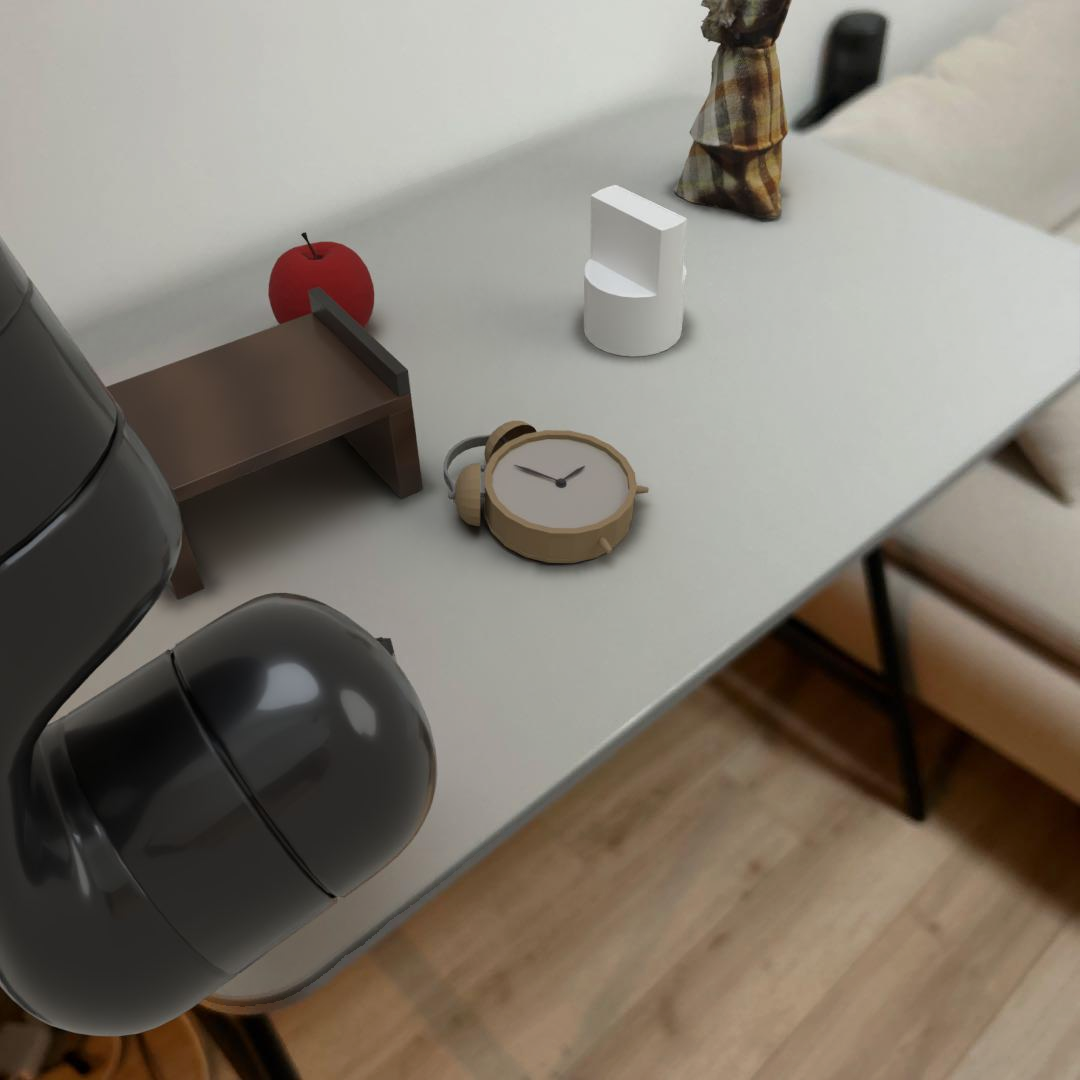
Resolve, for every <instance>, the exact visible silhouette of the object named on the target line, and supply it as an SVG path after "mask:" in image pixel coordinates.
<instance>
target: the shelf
mask: <svg viewBox="0 0 1080 1080" xmlns="http://www.w3.org/2000/svg"><path fill="white" fill-rule="evenodd" d="M308 294H309V299H310V304H311V309H312V313H310V314H308V315H305V316H302V317H299V318H297V319H294V320H291V321H288V322H285V323H283V324H277V325H274V326H272V327H268V328H266V329H263V330H261V331H257V332H255V333H252V334H249V335H247V336H244V337H241V338H238V339H235V340H233V341H230V342H227V343H224V344H222V345H219V346H215V347H213V348H210V349H208V350H205V351H202V352H199V353H197V354H194V355H191V356H188V357H185V358H182V359H180V360H176V361H174V362H171V363H169V364H166V365H163V366H160V367H157V368H154V369H151V370H149V371H146V372H143V373H140V374H138V375H135V376H132V377H130V378H127V379H124V380H121V381H118V382H115V383H112V384H110V385H107V386H106V388H107V389H108V391H109V392H110V394H111V395H112V396H113V398H114V400H115V401H116V402H117V404H118V405H119V406H120V408H121V409H122V410H123V412H124V413H125V415H126V416H127V418H128V419H129V421H130V422H131V424H132V425H133V426H134V428H135V429H136V431H137V432H138V434H139V435H140V437H141V438H142V440H143V441H144V443H145V444H146V445H147V447H148V448H149V450H150V451H151V453H152V454H153V456H154V457H155V459H156V460H157V462H158V463H159V465H160V466H161V468H162V470H163V472H164V474H165V476H166V478H167V480H168V482H169V483H170V485H171V487H172V489H173V491H174V494H175V496H176V498H177V501H178V504H179V503H181V502H183V501H186V500H188V499H190V498H193V497H196V496H198V495H200V494H203V493H205V492H207V491H210V490H213V489H215V488H217V487H219V486H222V485H224V484H228V483H229V482H232V481H234V480H236V479H239V478H242V477H244V476H246V475H248V474H251V473H254V472H256V471H258V470H260V469H262V468H263V469H264V468H265V467H268V466H271V465H273V464H276V463H277V462H281V461H283V460H285V459H287V458H290V457H292V456H295V455H297V454H299V453H302V452H304V451H307V450H309V449H312V448H314V447H317V446H318V445H319V446H320V445H321V444H323V443H326V442H329V441H332V440H334V439H336V438H339V437H341V436H342V437H343V438H344V439H345V440H346V441H347V442H348V444H350V445H351V446H352V448H353V449H355V451H356V452H357V453H358V454H359V455H360V456H361V457H362V459H364V461H365V462H367V464H368V465H369V466H370V467H371V468H372V469H373V470H374V471H375V472H376V474H377V475H378V476H379V477H380V478H381V479H382V480H383V481H384V482H385V484H387V485H388V487H389V488H390V489H391V490H392V491H393V492H394V493H395V494H396V495H397V497H399V498H400V499H402V500H403V499H404V498H407V497H409V496H411V495H413V494H415V493H417V492H419V491H422V490H423V489H424V485H423V478H422V470H421V462H420V453H419V446H418V438H417V430H416V423H415V416H414V406H413V400H412V393H411V392H412V391H411V383H410V376H409V369H408V368H407V367H406V366H404V365H403V363H401V362H400V361H399V359H397V358H396V357H395V356H394V355H393V354H392V353H390V351H388V349H386V348H385V346H383V345H382V344H381V343H380V342H379V341H378V340H377V339H375V338H374V336H373V335H371V334H370V333H369V332H368V331H367V330H366V328H363V327H362V326H361V325H359V324H358V323H357V322H356V321H355V320H354V319H353V318H352V317H351V316H350V315H349V314H348V313H347V312H346V311H344V310H343V309H342V308H341V307H340V306H339V305H338V304H337V303H336V302H335V301H334V300H333V299H332V298H331V297H329V296H328V295H327V294H326V293H325V292H324V291H323V290H322V289H321V288H320V287H317V288H314V289H311V290H308ZM182 526H183V527H182V545H181V549H180V553H179V557H178V560H177V563H176V566H175V569H174V571H173V574H172V576H171V577H170V579H169V581H168V583H167V585H168V587H169V588H170V590H171V592H172V593H173V595H174V597H175V598H176V599H177V600H180V599H183V598H184V597H187V596H190V595H192V594H194V593H196V592H198V591H201V590H203V589H204V588H205V586H204V582H203V580H202V577H201V573H200V571H199V568H198V565H197V562H196V560H195V556H194V554H193V550H192V548H191V545H190V541H189V539H188V536H187V532H186V531H185V527H184V524H183V523H182Z"/></svg>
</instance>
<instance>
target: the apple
mask: <svg viewBox="0 0 1080 1080" xmlns="http://www.w3.org/2000/svg"><path fill="white" fill-rule="evenodd" d="M300 235H301V238H303V239H304V241H305V242H306V244H302V245H298V246H294V247H292V248H289V249H287V250H286V251H285V252H283V253H282V254H281V255H280V256H278V258H277V259H276V261H275V263H274V265H273V267H272V269H271V272H270V275H269V280H268V300H269V305H270V308H271V311H272V314H273V316H274V318H275V320H276V322H277V323H278V325H280V324H283V323H285V322H288V321H291V320H294V319H297V318H299V317H302V316H305V315H308V314H310V313H312V309H311V304H310V299H309V294H308V290H311V289H314V288H317V287H320V288H321V289H322V290H323V291H324V292H325V293H326V294H327V295H328V296H329V297H331V298H332V299H333V300H334V301H335V302H336V303H337V304H338V305H339V306H340V307H341V308H342V309H343V310H344V311H346V312H347V313H348V314H349V315H350V316H351V317H352V318H353V319H354V320H355V321H356V322H357V323H358V324H359V325H361V326H362V327H363V328H364V329H366V326H367V325H368V323H369V321H370V319H371V317H372V314H373V311H374V306H375V286H374V283H373V279H372V276H371V273H370V270H369V268H368V266H367V264H366V263H365V262H364V261H363V259H362V258H361V256H359V254H358V253H357V252H356V251H354V250H353V249H352V248H350V247H348V246H347V245H345V244H343V243H340V242H335V241H317V242H311V243H310V241H309V237H308V234H307V232H306V231H304V232H302V233H301V234H300Z"/></svg>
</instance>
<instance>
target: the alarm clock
mask: <svg viewBox="0 0 1080 1080" xmlns="http://www.w3.org/2000/svg"><path fill="white" fill-rule="evenodd" d="M479 447H484V453H483V454H484V455H483V456H484V461H485V462H484V463H483V465H482V464H481V462H474V463H471V464H469V465H466V466H465V467H464V468H463V469H462V470H461V471H460V473H459V475H458V476H457V480H456V482H455V484H454V481H453V478H452V477H451V475H450V473H449V468H450V465H451V464H452V463H453V460H455V459H456V458H457V457H458V456H459V455H461V454H462V453H464V452H465V451H468V450H470V449H473V448H479ZM442 467H443V479H444V483H445V484H446V486H447V487H448V489H449V492H447V499H449V500H452V503H453V504H455V509H456V511H457V513H458V515H459V517H460V518H461V520H462V521H464V522H465V523H466V524H468V525H471V526H474V527H481V499H484V500H483V517H484V519H485V521H486V524H487V526H488V528H489V531H490V532H491V533H492V535H493V536H494V537H495V538H496V539H497V540H498V541H499V542H500V543H501V544H503V546H504V547H506V548H508V549H510V550H511V551H513V552H515V553H517V554H519V555H521V556H523V557H524V558H528V559H532V560H536V561H540V562H544V563H548V564H575V563H580V562H585V561H589V560H592V559H593V560H594V559H596V558H599V557H601V556H603V555H604V554H608V555H610V554H612V553H613V551H614V550H613V549H615V548H616V547H617V546H618V545H619V544H620V543H621V541H622V540H623V539H624V538H625V537H626V536H627V535H628V532H629V529H630V526H631V523H632V520H633V518H634V517H633V513H634V505H635V499H636V495H643V494H648V493H649V487H648V486H643V485H637V480H636V472H635V470H634V469H633V467H632V466H631V464H630V462H629V461H628V459H627V457H626V456H624V455H623V454H622V453H621V452H620V451H619V450H617V449H616V448H615V447H614V446H613V445H611V444H609V443H608V442H605V441H603V440H601V439H599V438H597V437H594V436H593V435H590V434H585V433H581V432H577V431H572V430H561V429H560V430H559V429H555V430H554V429H552V430H551V429H545V430H540V431H537V430H536V428H535V427H534V426H532V425H531V424H529V423H528V422H526V421H523V420H510V421H507V422H504V423H502V424H500V425H499V426H497V427H496V429H494V430H493V431H492V432H491V434H482V435H475V436H471V437H467V438H465V439H462V440H461V441H459V442H457V443H456V444H454V445H453V446H452V447H451V448H450V449H449V450H448V452H447V453H446V455H445V457H444V459H443V466H442ZM481 472H484V492H481V481H482V479H481V477H482V476H481V475H482V474H481Z"/></svg>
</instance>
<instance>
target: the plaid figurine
mask: <svg viewBox="0 0 1080 1080" xmlns="http://www.w3.org/2000/svg"><path fill="white" fill-rule="evenodd" d="M792 2H793V0H701V3H700V7H703V8H707V9H708V12H707V15H706V16H705V18H704V19H703V20H701V21H700V22H701V23H702V24H701V26H699V27H700V30H701V35H702V37H703V38H705V39H706V40H707V43H710V42H713V43H717V44H718V46H717V49H716V50H715V54H714V56H713V58H712V60H711V71H710V73H711V79H710V80H711V81H710V86H709V92H708V95H707V97H706V99H705V101H704V103H703V105H702V106H701V108H700V110H699V112H698V114H697V116H696V117H695V119H694V122H693V124H692V125H691V128H690V130H689V132H688V133H689V135H690V136H691V138H692V139H693V141H692V144H691V147H690V148H689V153H688V155H687V157H686V159H685V161H684V162H685V163H684V166H683V168H682V172H681V173H680V176H679V179H678V181H677V184H676V186H675V188H674V189H673V191H674V193H675V194H676V195H677V196H678V197H681V198H683V199H684V200H686V201H687V202H690V203H696V204H701V205H705V206H709V207H717V208H721V209H729V210H732V211H735V212H739V213H743V214H745V215H746V214H747V215H750V216H753V217H757V218H758V217H759V218H760V219H769V218H778V217H779V215H780V214H781V213H782V196H781V193H780V192H779V189H780V182H781V178H782V167H783V141H784V140H785V138H786V137H787V135H788V134H789V126H788V121H787V113H786V106H785V101H784V100H785V99H784V94H783V88H782V80H781V79H782V78H781V67H780V60H779V57H778V52H777V43H776V41H777V40H778V38H779V37H780V36H781V35H780V34H781V31H782V29H783V26H784V25H785V22H786V19H787V16H788V13H789V10H790V7H791V4H792Z"/></svg>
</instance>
